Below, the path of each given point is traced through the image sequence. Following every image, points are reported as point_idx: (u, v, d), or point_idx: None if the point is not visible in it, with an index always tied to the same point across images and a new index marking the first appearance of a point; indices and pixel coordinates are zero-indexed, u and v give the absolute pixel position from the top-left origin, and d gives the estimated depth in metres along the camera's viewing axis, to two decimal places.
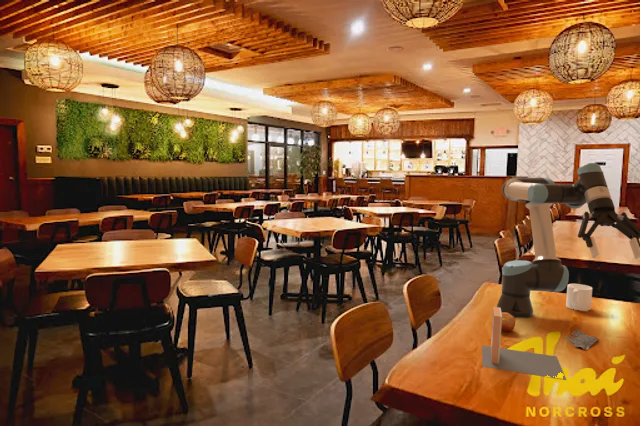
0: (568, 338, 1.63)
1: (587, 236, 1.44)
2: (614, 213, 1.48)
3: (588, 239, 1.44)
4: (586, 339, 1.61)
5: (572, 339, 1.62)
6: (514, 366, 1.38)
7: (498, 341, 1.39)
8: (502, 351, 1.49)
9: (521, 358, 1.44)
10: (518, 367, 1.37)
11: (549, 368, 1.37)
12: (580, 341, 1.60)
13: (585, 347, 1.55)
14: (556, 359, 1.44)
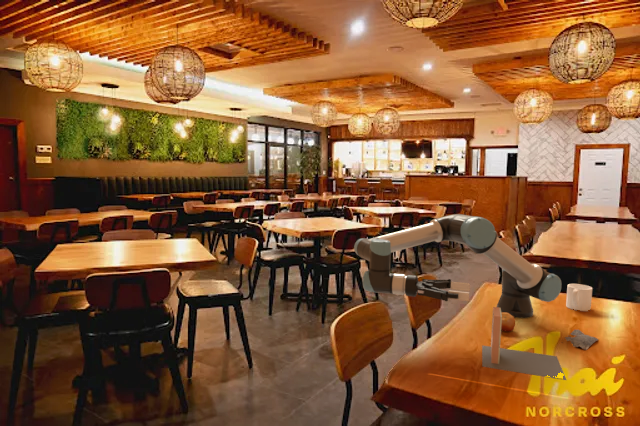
0: (567, 338, 1.63)
1: None
2: None
3: None
4: (586, 339, 1.61)
5: (571, 339, 1.62)
6: (514, 366, 1.38)
7: (498, 341, 1.39)
8: (502, 351, 1.49)
9: (521, 358, 1.44)
10: (518, 367, 1.37)
11: (549, 368, 1.37)
12: (580, 341, 1.60)
13: (585, 347, 1.55)
14: (556, 359, 1.44)
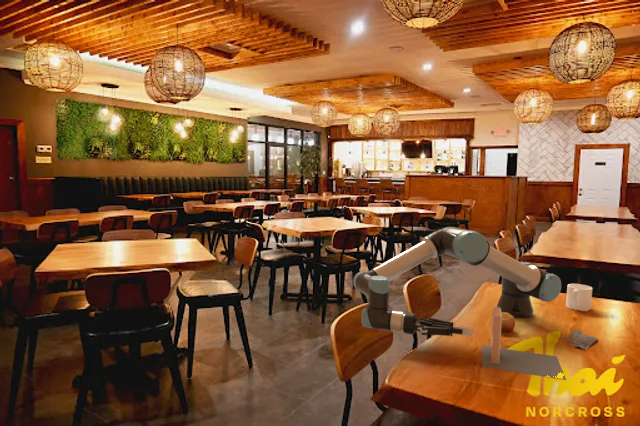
0: (567, 338, 1.63)
1: None
2: None
3: None
4: (585, 339, 1.61)
5: (571, 339, 1.62)
6: (514, 366, 1.38)
7: (498, 341, 1.39)
8: (502, 351, 1.49)
9: (521, 358, 1.44)
10: (518, 367, 1.37)
11: (549, 368, 1.37)
12: (579, 341, 1.60)
13: (584, 347, 1.55)
14: (556, 359, 1.44)
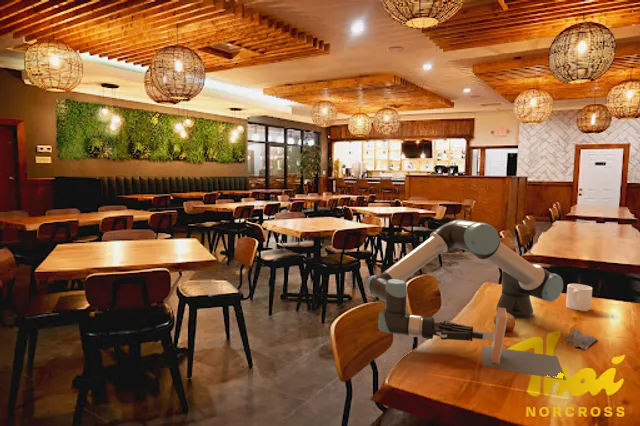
0: (567, 338, 1.63)
1: None
2: None
3: None
4: (585, 339, 1.61)
5: (571, 339, 1.62)
6: (514, 366, 1.38)
7: (501, 341, 1.39)
8: (502, 351, 1.49)
9: (521, 358, 1.44)
10: (518, 367, 1.37)
11: (549, 368, 1.37)
12: (579, 340, 1.60)
13: (584, 347, 1.55)
14: (556, 359, 1.44)
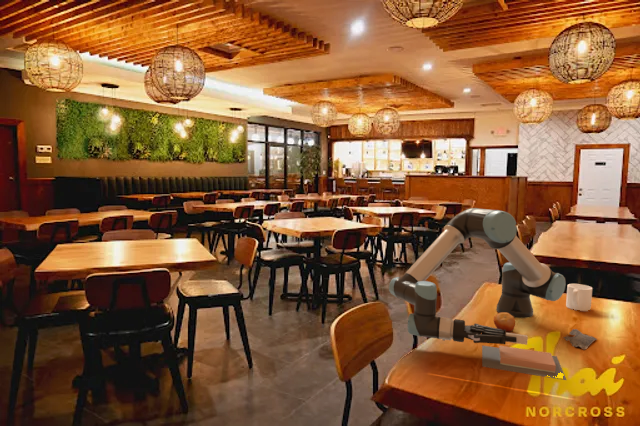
0: (566, 338, 1.63)
1: None
2: None
3: None
4: (584, 339, 1.61)
5: (570, 339, 1.62)
6: (514, 366, 1.38)
7: (525, 366, 1.37)
8: None
9: None
10: (518, 367, 1.37)
11: None
12: (579, 340, 1.60)
13: (584, 347, 1.55)
14: (556, 359, 1.44)
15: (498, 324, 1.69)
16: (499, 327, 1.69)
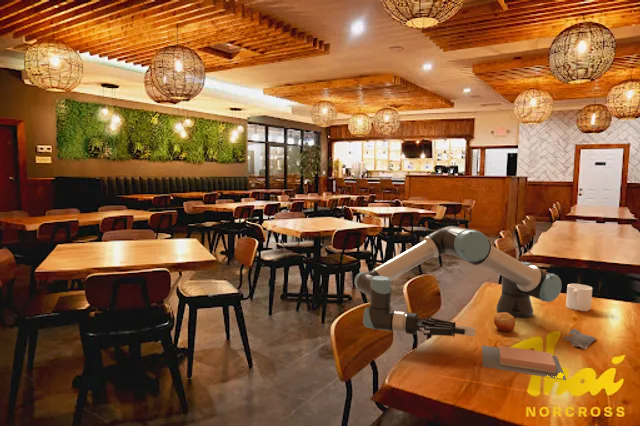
0: (566, 338, 1.63)
1: None
2: None
3: None
4: (584, 339, 1.61)
5: (570, 339, 1.62)
6: (514, 366, 1.38)
7: (525, 366, 1.37)
8: None
9: None
10: (518, 367, 1.37)
11: None
12: (578, 340, 1.60)
13: (583, 347, 1.55)
14: (556, 359, 1.44)
15: (498, 324, 1.69)
16: (499, 327, 1.69)
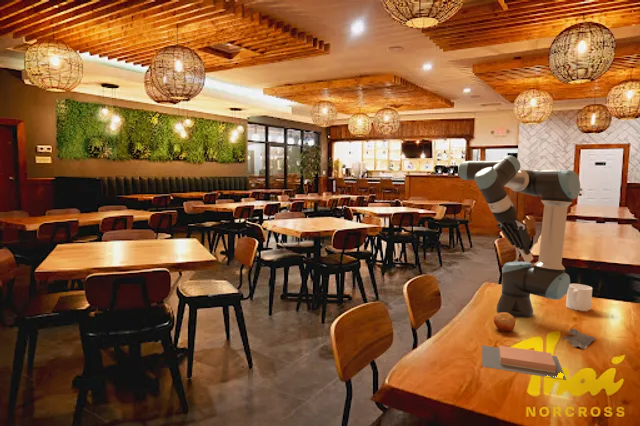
0: (565, 338, 1.64)
1: None
2: (512, 222, 1.51)
3: (518, 248, 1.58)
4: (583, 338, 1.62)
5: (569, 339, 1.63)
6: (514, 366, 1.38)
7: (525, 366, 1.37)
8: None
9: None
10: (518, 367, 1.37)
11: None
12: (578, 340, 1.60)
13: (583, 346, 1.55)
14: (556, 359, 1.44)
15: (498, 324, 1.69)
16: (499, 327, 1.69)
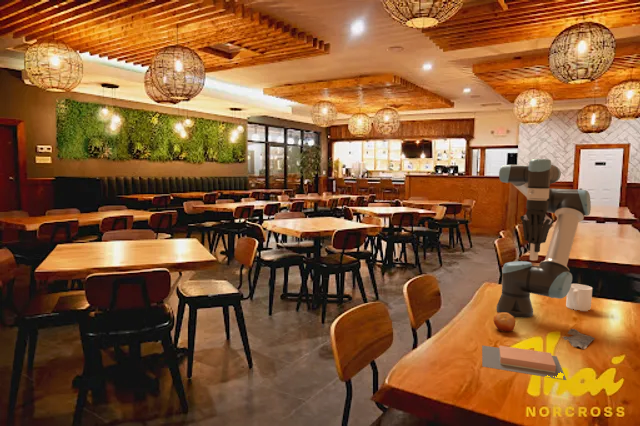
0: (565, 337, 1.64)
1: (529, 242, 1.66)
2: (542, 214, 1.60)
3: (529, 244, 1.66)
4: (583, 338, 1.62)
5: (569, 338, 1.63)
6: (514, 366, 1.38)
7: (525, 366, 1.37)
8: None
9: None
10: (518, 367, 1.37)
11: None
12: (577, 340, 1.61)
13: (583, 346, 1.55)
14: (556, 359, 1.44)
15: (498, 324, 1.69)
16: (499, 327, 1.69)
